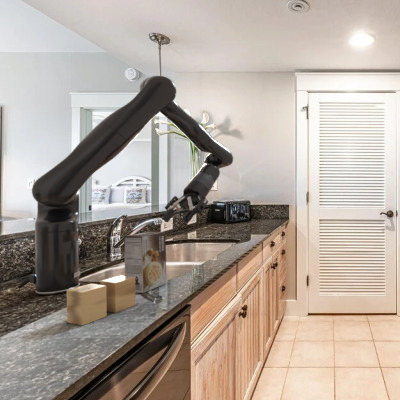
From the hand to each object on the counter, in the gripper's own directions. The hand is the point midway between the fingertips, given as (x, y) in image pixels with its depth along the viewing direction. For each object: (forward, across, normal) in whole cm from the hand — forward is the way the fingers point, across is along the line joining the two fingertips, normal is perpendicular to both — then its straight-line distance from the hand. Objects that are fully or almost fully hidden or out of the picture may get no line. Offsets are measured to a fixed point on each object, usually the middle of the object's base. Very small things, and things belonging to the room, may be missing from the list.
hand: (174, 221), depth 95 cm
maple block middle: (+30, +7, -4) cm, 31 cm away
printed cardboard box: (+21, 0, +6) cm, 22 cm away
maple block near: (+35, +7, -9) cm, 37 cm away
